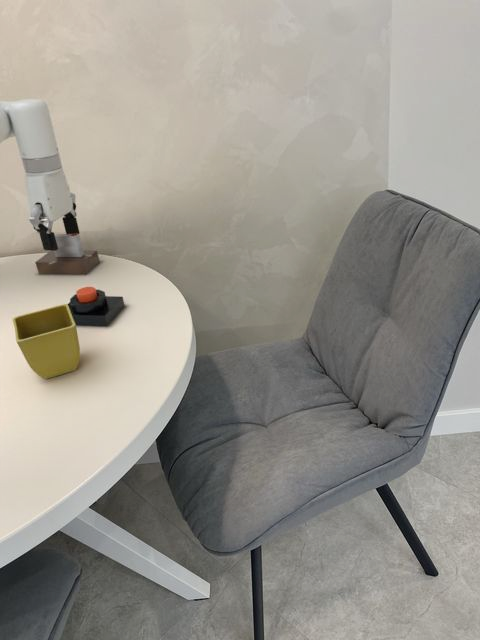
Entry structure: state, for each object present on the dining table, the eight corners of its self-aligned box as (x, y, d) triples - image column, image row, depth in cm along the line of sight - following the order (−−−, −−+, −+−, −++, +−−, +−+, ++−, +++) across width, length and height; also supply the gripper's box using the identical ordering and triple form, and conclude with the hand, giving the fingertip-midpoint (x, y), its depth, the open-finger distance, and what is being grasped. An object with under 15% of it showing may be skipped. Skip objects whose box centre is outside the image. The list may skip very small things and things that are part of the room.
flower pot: (90, 373, 88) (75, 324, 83) (34, 390, 85) (15, 341, 80) (81, 348, 95) (67, 302, 90) (29, 364, 92) (11, 317, 87)
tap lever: (55, 257, 125) (49, 235, 123) (59, 254, 127) (52, 232, 124) (81, 257, 124) (75, 235, 121) (84, 254, 125) (78, 232, 123)
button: (75, 303, 102) (72, 294, 102) (84, 294, 105) (81, 286, 105) (92, 303, 102) (90, 295, 101) (101, 294, 105) (98, 286, 104)
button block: (59, 325, 103) (53, 306, 101) (79, 305, 110) (74, 287, 108) (107, 326, 101) (102, 307, 99) (125, 306, 108) (120, 288, 106)
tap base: (36, 276, 125) (31, 263, 123) (57, 260, 132) (53, 247, 131) (85, 277, 122) (81, 263, 120) (103, 260, 130) (100, 247, 128)
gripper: (48, 154, 122) (66, 228, 131) (2, 174, 108) (26, 256, 117) (78, 154, 121) (95, 229, 130) (35, 174, 107) (57, 257, 116)
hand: (62, 241), depth 123 cm, fingers open, 9 cm apart
